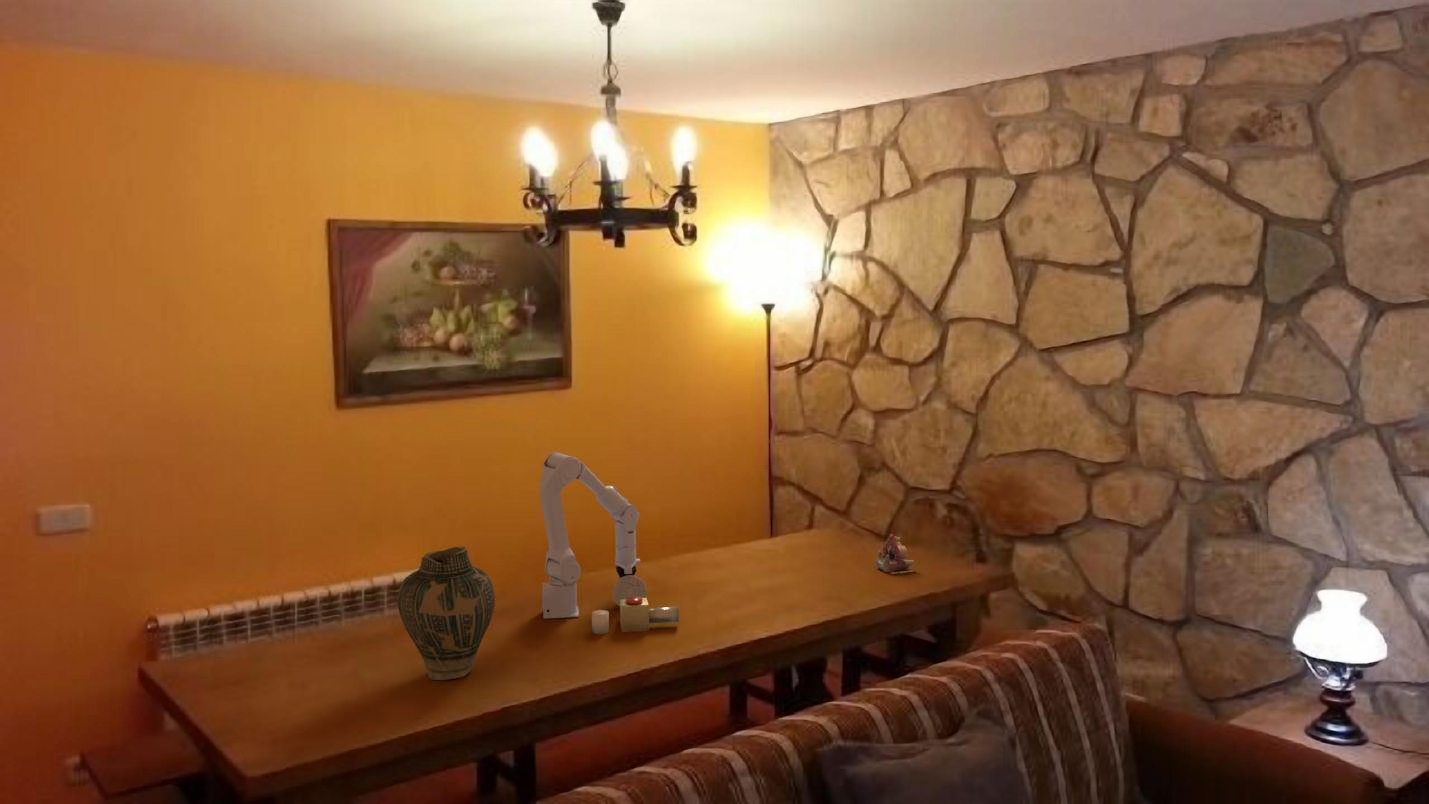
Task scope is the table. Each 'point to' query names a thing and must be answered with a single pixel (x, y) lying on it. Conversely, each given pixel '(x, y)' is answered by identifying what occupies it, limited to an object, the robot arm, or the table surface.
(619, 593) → the showerhead
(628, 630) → the beige red button device
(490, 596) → the vase
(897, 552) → the grey pink figurine
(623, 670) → the table surface
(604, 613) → the pvc coupling
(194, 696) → the table surface
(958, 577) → the table surface
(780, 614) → the table surface
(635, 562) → the robot arm
